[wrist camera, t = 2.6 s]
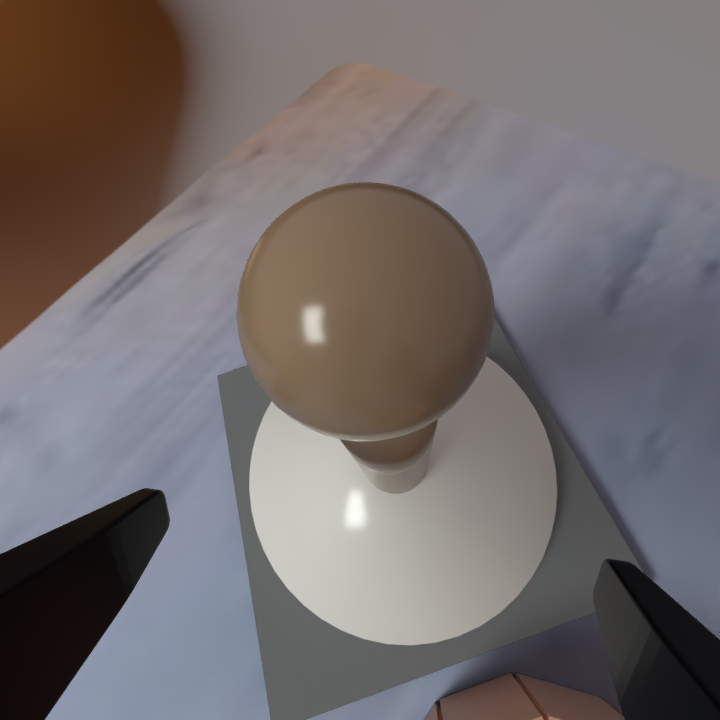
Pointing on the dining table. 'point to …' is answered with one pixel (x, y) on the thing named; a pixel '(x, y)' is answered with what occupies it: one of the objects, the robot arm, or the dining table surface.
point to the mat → (407, 662)
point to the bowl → (522, 702)
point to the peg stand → (388, 420)
